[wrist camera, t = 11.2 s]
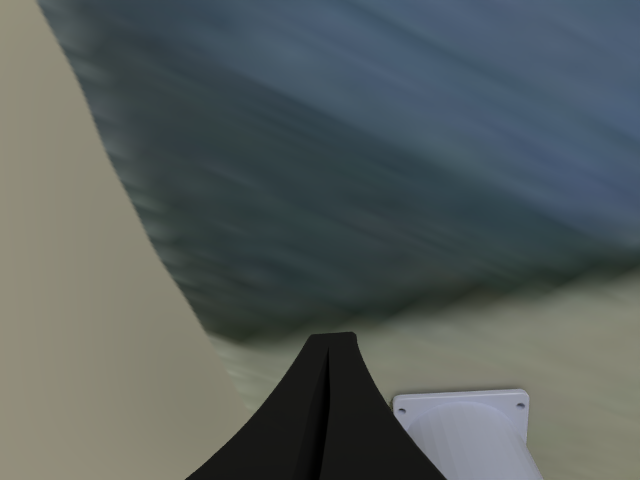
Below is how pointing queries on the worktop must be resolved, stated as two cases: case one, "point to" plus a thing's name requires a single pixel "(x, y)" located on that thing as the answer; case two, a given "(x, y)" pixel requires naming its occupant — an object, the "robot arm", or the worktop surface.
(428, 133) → the worktop surface
